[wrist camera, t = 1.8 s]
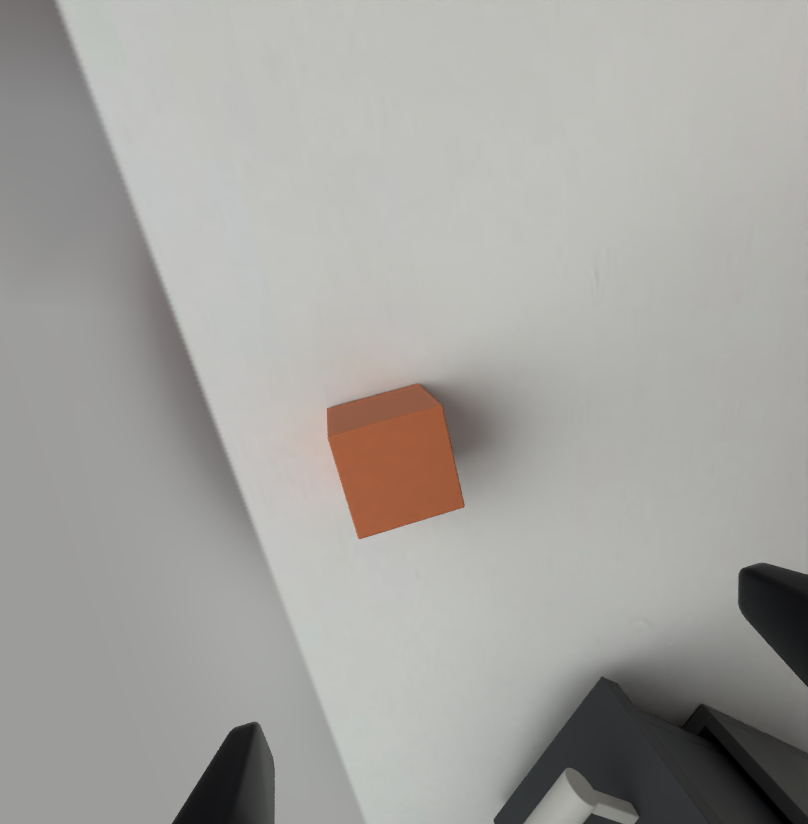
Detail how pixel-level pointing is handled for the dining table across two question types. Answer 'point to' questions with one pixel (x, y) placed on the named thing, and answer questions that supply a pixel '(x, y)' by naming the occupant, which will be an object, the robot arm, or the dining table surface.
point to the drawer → (633, 773)
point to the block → (394, 459)
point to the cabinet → (759, 760)
